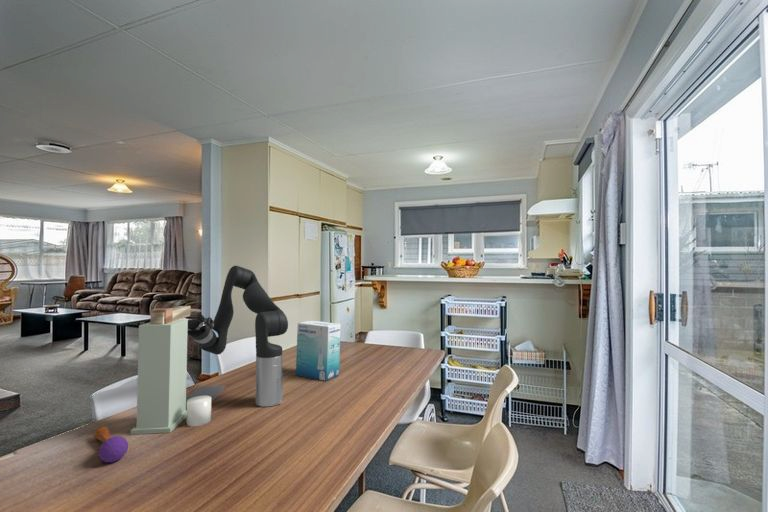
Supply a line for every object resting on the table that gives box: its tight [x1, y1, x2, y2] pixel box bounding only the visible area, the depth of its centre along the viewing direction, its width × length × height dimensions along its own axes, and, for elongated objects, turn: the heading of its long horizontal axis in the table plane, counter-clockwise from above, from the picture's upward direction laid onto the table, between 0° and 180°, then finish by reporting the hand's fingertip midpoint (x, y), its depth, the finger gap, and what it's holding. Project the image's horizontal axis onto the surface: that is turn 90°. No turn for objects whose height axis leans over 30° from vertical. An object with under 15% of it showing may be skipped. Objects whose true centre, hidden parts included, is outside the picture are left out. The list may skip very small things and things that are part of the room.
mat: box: [186, 385, 226, 410], centre depth 133 cm, size 10×22×1 cm, turn 7°
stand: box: [130, 318, 189, 435], centre depth 112 cm, size 11×14×32 cm
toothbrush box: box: [295, 320, 342, 382], centre depth 161 cm, size 18×10×24 cm, turn 63°
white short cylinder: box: [185, 396, 212, 427], centre depth 113 cm, size 7×7×7 cm
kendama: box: [93, 426, 129, 464], centre depth 95 cm, size 6×6×20 cm
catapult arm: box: [149, 305, 192, 325], centre depth 118 cm, size 4×20×4 cm, turn 7°
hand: (185, 316), depth 128 cm, fingers open, 8 cm apart
